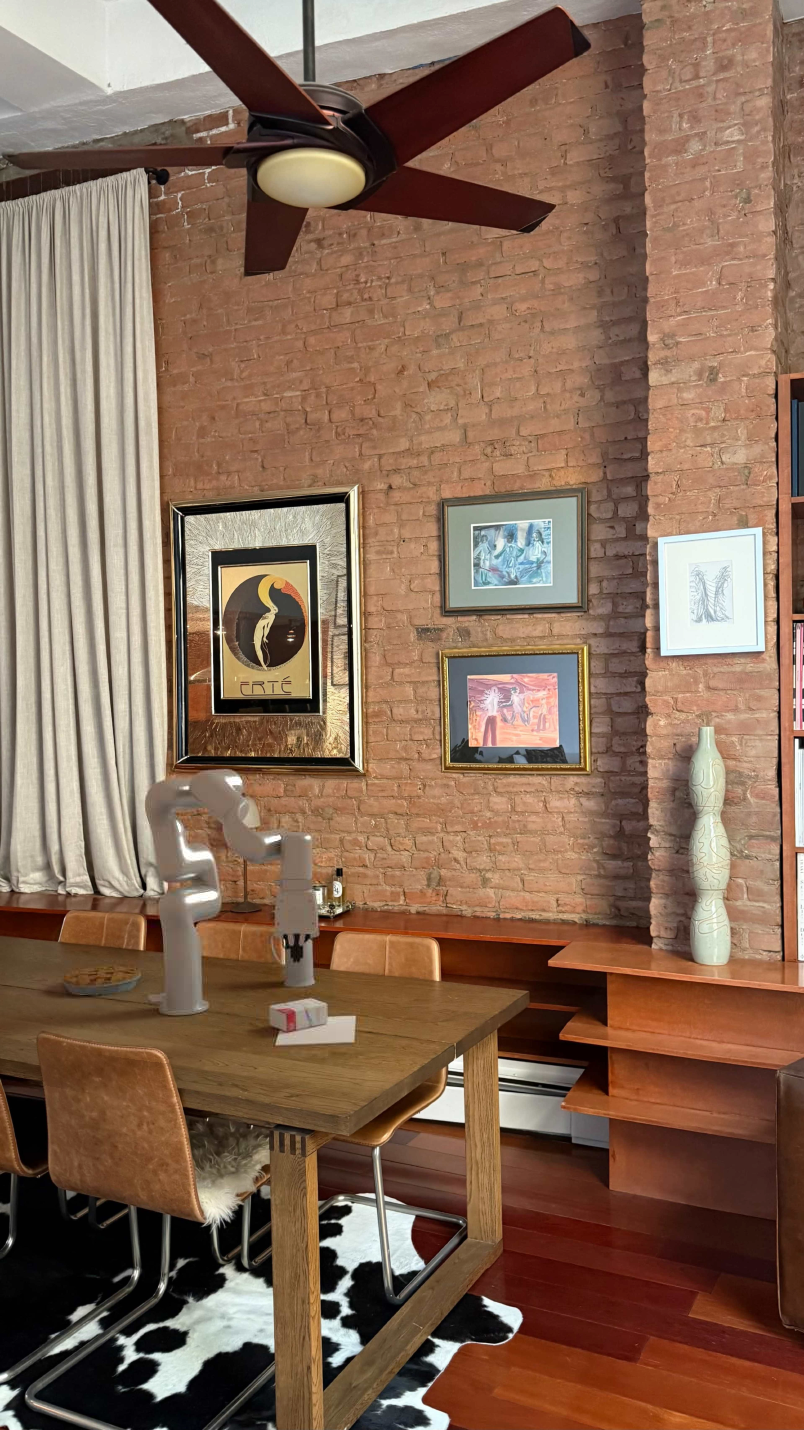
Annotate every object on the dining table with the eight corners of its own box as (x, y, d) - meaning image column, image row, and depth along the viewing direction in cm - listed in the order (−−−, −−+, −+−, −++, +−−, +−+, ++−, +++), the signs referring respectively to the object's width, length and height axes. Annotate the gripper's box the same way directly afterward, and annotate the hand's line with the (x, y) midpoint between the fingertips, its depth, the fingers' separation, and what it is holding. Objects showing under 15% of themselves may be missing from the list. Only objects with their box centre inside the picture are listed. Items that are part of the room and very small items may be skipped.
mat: (275, 1046, 250) (275, 1044, 250) (283, 1019, 272) (283, 1018, 272) (354, 1043, 250) (354, 1041, 250) (355, 1017, 272) (355, 1015, 272)
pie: (138, 976, 325) (138, 959, 325) (145, 992, 304) (144, 974, 304) (61, 983, 318) (61, 966, 318) (62, 1001, 297) (62, 983, 297)
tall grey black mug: (302, 988, 303) (301, 934, 303) (262, 983, 311) (261, 930, 311) (321, 981, 311) (319, 928, 311) (281, 976, 318) (280, 925, 318)
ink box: (285, 1033, 258) (328, 1025, 265) (285, 1011, 258) (328, 1004, 265) (268, 1025, 266) (310, 1017, 272) (268, 1004, 266) (310, 997, 272)
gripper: (263, 887, 257) (263, 965, 257) (327, 887, 257) (327, 965, 258) (266, 882, 265) (267, 958, 265) (328, 881, 265) (328, 957, 265)
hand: (296, 961), depth 261 cm, fingers closed
